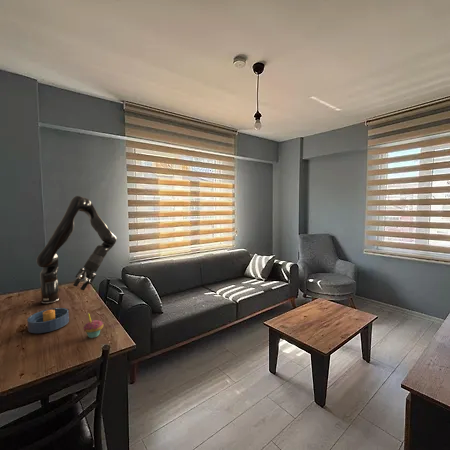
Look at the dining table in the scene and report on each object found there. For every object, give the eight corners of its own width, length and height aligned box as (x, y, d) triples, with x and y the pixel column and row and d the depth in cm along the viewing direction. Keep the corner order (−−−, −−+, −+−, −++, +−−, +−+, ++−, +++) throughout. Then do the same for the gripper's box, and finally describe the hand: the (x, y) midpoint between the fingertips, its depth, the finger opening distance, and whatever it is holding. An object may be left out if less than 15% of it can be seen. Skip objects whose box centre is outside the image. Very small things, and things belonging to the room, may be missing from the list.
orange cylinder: (46, 323, 132) (45, 308, 131) (57, 321, 133) (56, 307, 132) (41, 327, 127) (40, 312, 126) (53, 326, 128) (52, 311, 127)
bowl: (37, 320, 136) (36, 309, 135) (73, 316, 141) (73, 306, 140) (20, 336, 119) (20, 324, 118) (62, 331, 124) (61, 320, 123)
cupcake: (83, 341, 114) (82, 316, 114) (84, 333, 122) (83, 310, 121) (104, 337, 118) (102, 313, 117) (103, 329, 126) (102, 306, 125)
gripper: (105, 267, 146) (90, 293, 140) (93, 262, 154) (78, 286, 148) (95, 262, 140) (78, 289, 134) (82, 257, 148) (66, 282, 142)
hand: (78, 287), depth 141 cm, fingers open, 8 cm apart
